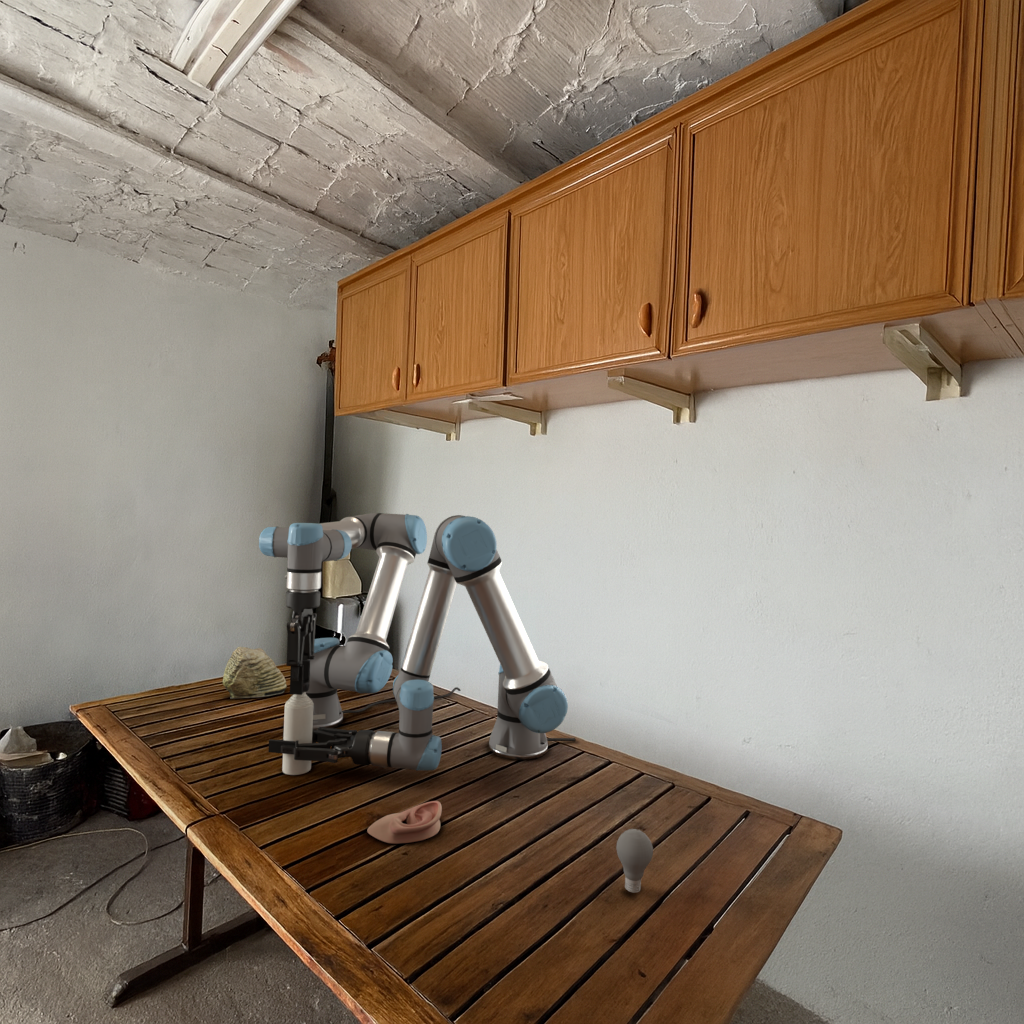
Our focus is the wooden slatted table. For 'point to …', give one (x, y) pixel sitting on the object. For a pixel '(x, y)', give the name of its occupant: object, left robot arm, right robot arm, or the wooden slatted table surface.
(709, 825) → the wooden slatted table surface
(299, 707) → the bottle
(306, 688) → the cap
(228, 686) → the fossil
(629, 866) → the light bulb
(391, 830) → the anatomical model
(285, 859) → the wooden slatted table surface
